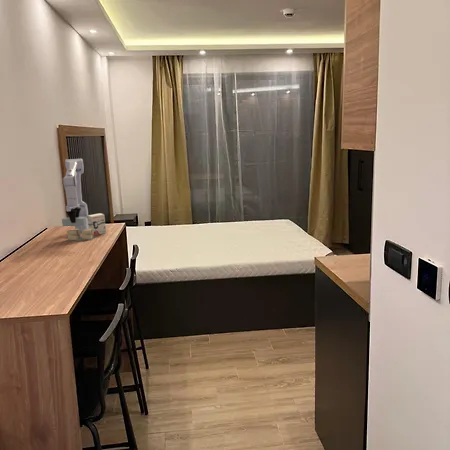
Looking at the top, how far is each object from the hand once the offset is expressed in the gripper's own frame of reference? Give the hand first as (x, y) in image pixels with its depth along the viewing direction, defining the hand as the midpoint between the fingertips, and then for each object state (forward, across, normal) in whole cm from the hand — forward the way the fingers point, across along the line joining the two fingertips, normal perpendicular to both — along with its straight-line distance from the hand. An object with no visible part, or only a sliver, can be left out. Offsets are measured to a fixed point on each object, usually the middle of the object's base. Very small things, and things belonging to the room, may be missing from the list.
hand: (74, 221), depth 242 cm
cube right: (+10, +1, +7) cm, 12 cm away
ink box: (+10, -10, +9) cm, 17 cm away
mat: (+10, 0, +3) cm, 10 cm away
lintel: (+2, 0, 0) cm, 2 cm away
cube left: (+10, +1, -1) cm, 10 cm away
